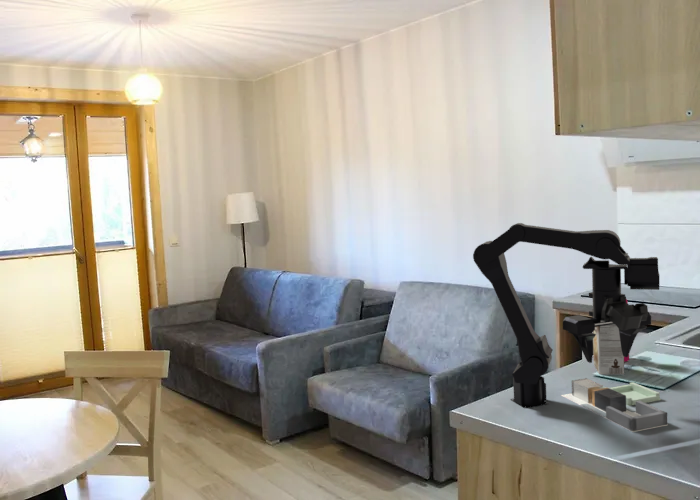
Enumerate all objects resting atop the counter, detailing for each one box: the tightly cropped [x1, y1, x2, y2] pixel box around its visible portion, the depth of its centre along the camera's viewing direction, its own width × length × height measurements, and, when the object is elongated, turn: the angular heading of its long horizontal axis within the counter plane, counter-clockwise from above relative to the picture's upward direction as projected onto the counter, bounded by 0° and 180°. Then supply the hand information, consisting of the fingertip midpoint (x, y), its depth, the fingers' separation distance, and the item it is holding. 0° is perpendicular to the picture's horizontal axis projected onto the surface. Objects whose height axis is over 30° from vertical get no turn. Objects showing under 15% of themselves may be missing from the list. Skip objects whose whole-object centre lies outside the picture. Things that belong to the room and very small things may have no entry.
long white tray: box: [560, 392, 668, 433], centre depth 138 cm, size 9×24×3 cm, turn 16°
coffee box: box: [591, 308, 625, 376], centre depth 165 cm, size 9×6×16 cm
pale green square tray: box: [603, 382, 662, 407], centre depth 145 cm, size 9×9×2 cm
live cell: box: [592, 387, 626, 412], centre depth 138 cm, size 4×6×4 cm, turn 16°
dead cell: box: [571, 377, 604, 403], centre depth 145 cm, size 4×6×4 cm, turn 16°
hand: (607, 359), depth 137 cm, fingers open, 9 cm apart
